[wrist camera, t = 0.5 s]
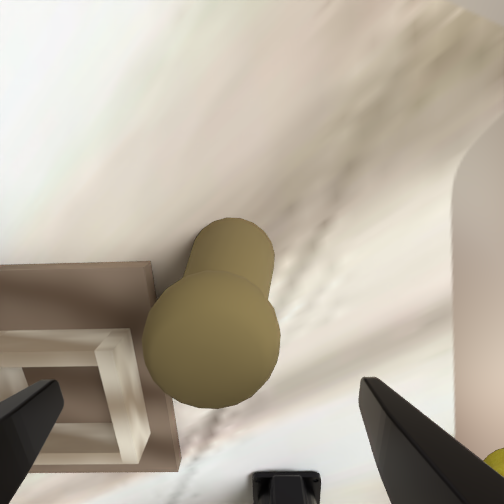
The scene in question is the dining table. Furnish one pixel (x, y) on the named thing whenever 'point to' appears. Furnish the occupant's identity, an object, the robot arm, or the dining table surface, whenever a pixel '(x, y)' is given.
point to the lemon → (496, 461)
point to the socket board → (88, 364)
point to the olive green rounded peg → (216, 320)
